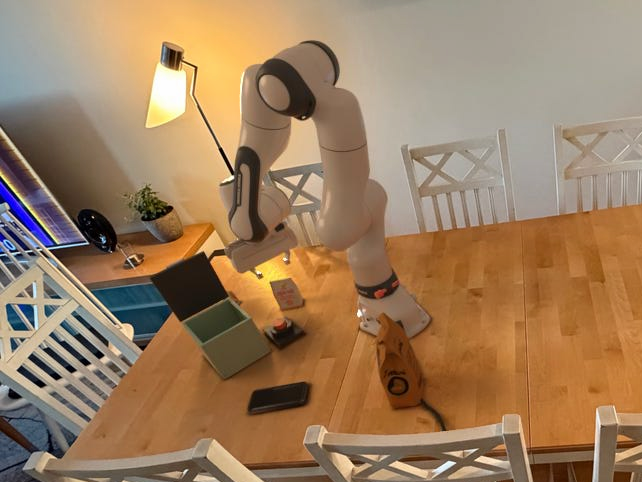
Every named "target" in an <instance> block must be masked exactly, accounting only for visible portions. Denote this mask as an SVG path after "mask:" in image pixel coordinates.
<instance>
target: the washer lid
mask: <svg viewBox="0 0 642 482" xmlns="http://www.w3.org/2000/svg"><path fill="white" fill-rule="evenodd" d="M164 267H165V268H164V269H162V270H160V271H158V272H156V273H154V274H152V275H149V276H148V278H149V280H150V281H151V283H152V284H153V286H154V287H155V288H156V290H157V292H158V293H159V295H160V296H161V297H162V298H163V300H164V301H165V303H166V304H167V305H168V307H169V308H170V310H171V311H172V313H173V314H174V316H175V317H176V318H177V320H178V321H179V322H180V323H182V322H184V321H186V320H188V319H190V318H191V317H193V316H195V315H197V314H199V313H201V312H203V311H205V310H206V309H208V308H210V307H212V306H214V305H216V304H218V303H220V302H221V301H223V300H224V299H225V298H227V297H229V295H228V294H227V292H226V290H227V289H226V288H225V286H224V284H223V283H222V281H221V279H220V277H219V275H218V274H217V272H216V270H215V269H214V266H213V265H212V263H211V261H210V258H208V256H207V254H206V252H205V251H204V250H202V251H200V252H198V253H195V254H194V255H191V256H189V257H187V258H183V257H182V258H180V259H177V260H176V261H174V262H172V263H169V264H167V265H165V266H164Z"/></svg>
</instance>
